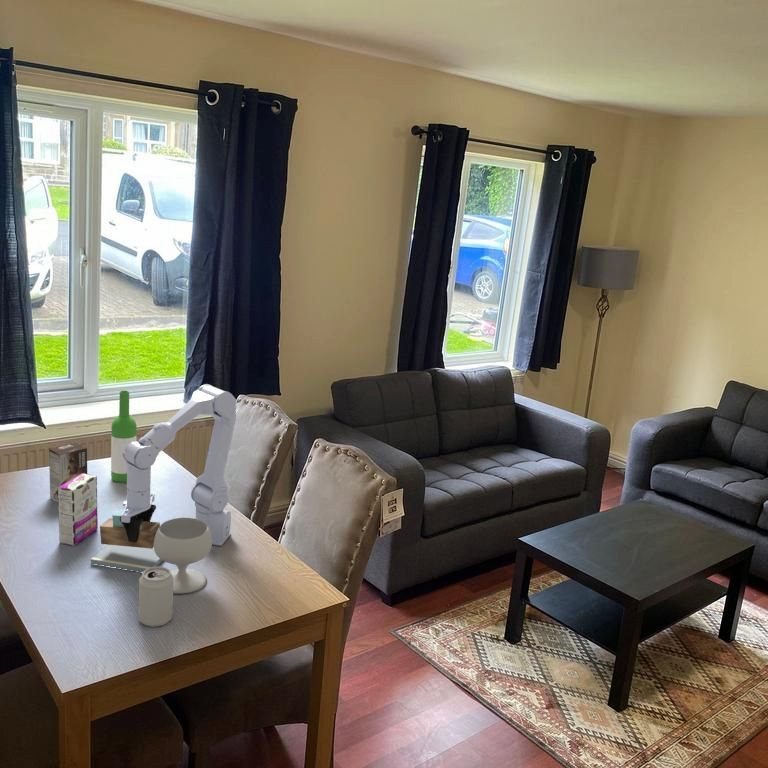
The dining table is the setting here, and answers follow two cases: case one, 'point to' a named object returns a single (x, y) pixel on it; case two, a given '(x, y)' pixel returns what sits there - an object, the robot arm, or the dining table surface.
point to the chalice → (183, 551)
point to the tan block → (119, 536)
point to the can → (155, 596)
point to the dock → (127, 558)
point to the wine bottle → (121, 438)
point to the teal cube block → (117, 518)
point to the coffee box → (66, 465)
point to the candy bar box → (77, 509)
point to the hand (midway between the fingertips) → (137, 536)
